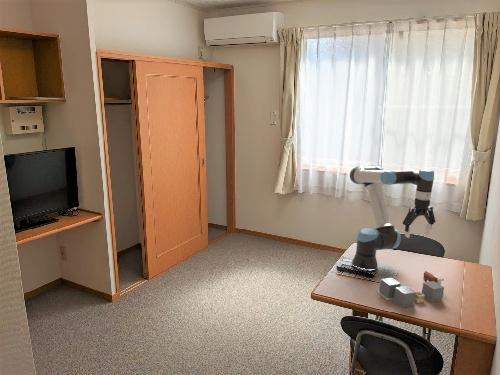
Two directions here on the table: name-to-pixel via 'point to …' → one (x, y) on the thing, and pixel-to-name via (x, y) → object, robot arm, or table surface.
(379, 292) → the mat
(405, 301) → the grey block
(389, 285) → the grey box
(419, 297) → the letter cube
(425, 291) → the grey cube
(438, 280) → the bull figurine
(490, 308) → the table surface
